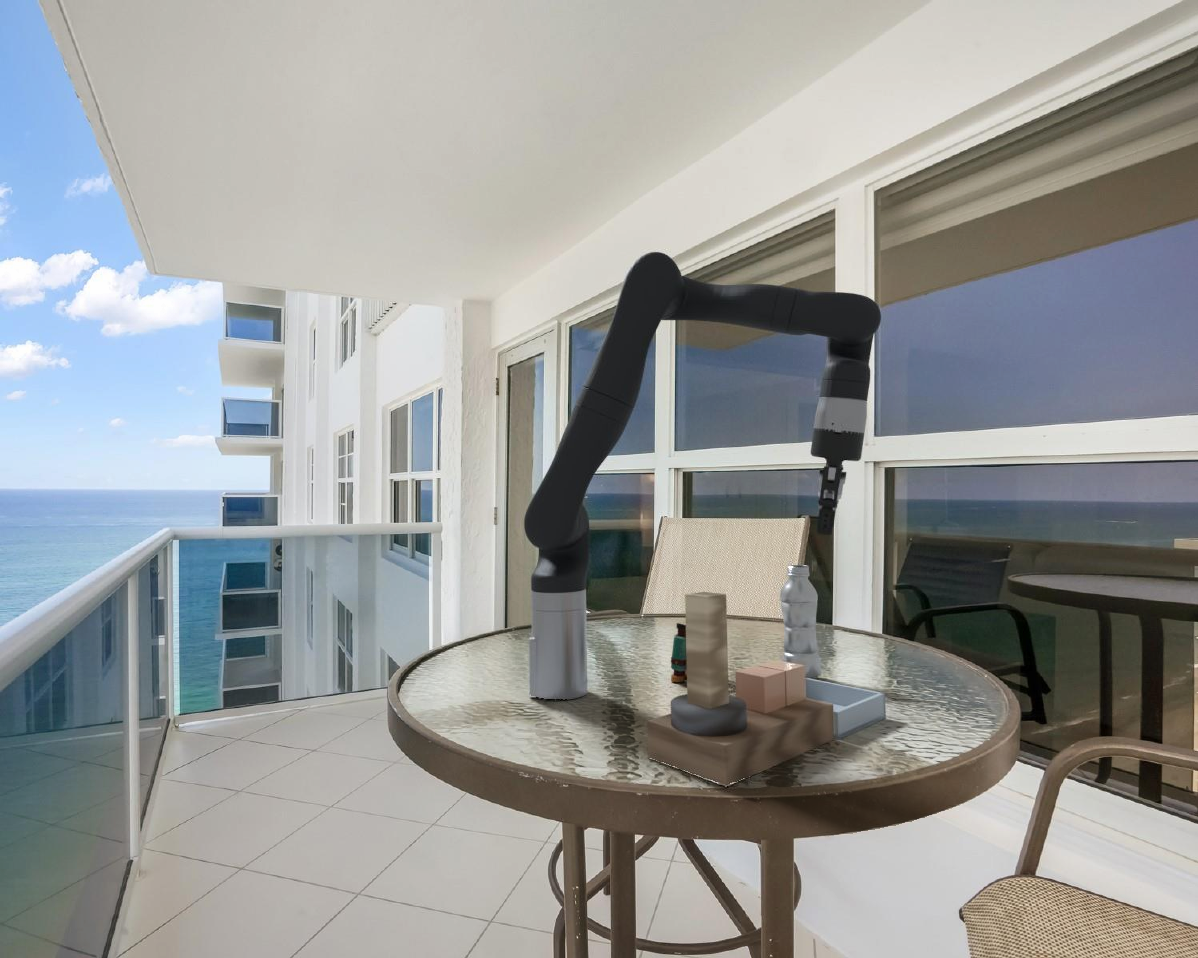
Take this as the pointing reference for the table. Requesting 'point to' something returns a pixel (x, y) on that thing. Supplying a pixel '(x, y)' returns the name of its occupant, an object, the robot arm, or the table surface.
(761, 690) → the pinkish tan cube
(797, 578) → the plastic bottle
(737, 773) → the wooden rectangular block
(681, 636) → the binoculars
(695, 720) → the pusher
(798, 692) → the beige cube
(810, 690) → the tray
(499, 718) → the table surface
